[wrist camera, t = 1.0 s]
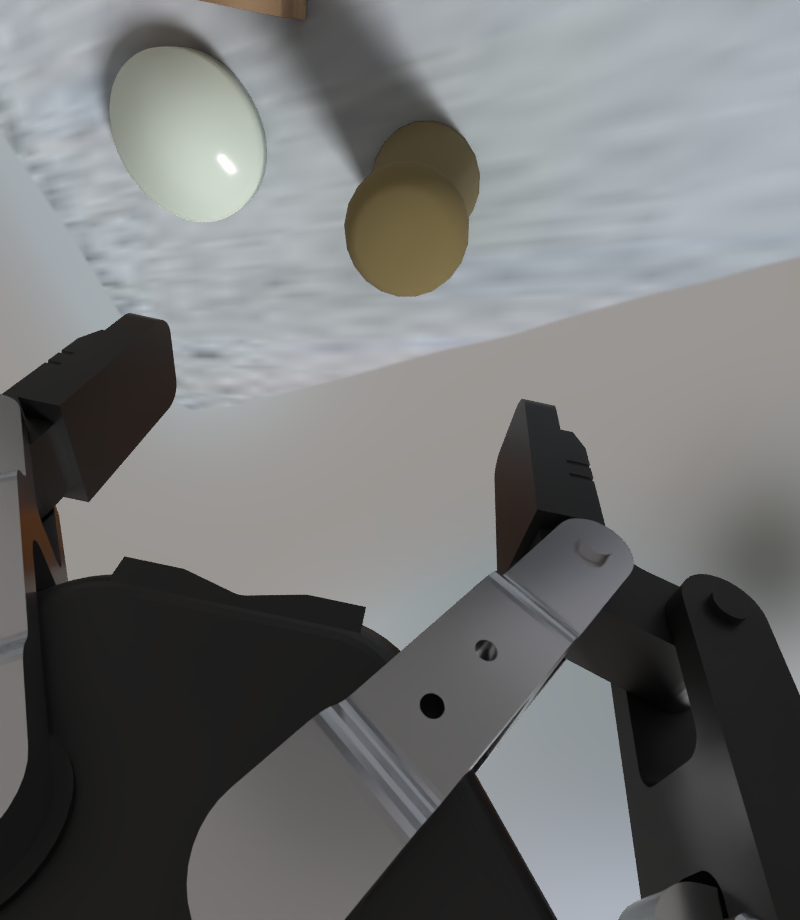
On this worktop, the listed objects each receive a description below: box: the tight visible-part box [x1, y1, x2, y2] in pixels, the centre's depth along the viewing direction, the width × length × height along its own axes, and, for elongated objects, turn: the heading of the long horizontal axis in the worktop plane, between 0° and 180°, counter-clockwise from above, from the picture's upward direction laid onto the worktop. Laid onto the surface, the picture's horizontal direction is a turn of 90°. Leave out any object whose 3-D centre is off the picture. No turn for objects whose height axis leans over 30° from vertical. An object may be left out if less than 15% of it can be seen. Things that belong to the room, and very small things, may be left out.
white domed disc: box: [109, 46, 267, 222], centre depth 28 cm, size 8×8×2 cm
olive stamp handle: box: [344, 121, 480, 296], centre depth 25 cm, size 6×6×11 cm
